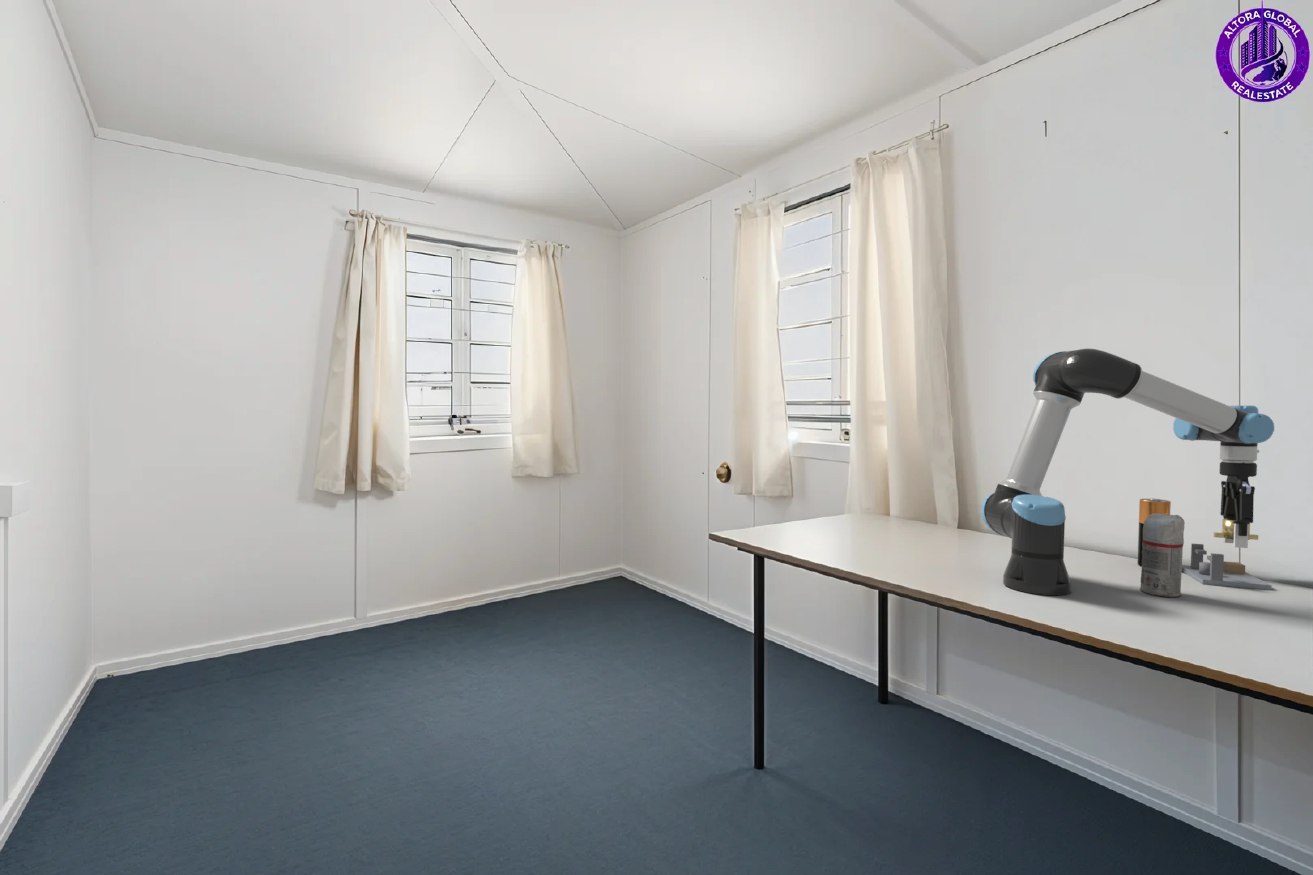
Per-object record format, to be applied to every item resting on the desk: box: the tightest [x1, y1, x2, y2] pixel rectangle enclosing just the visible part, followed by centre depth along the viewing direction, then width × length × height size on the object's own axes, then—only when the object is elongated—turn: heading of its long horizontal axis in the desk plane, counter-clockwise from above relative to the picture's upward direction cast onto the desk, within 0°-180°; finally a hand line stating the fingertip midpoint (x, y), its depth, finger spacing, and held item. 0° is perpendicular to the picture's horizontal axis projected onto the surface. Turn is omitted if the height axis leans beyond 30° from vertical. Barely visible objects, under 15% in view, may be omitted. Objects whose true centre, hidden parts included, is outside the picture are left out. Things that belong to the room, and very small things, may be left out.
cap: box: [1213, 518, 1259, 541], centre depth 173 cm, size 9×6×5 cm, turn 67°
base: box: [1181, 543, 1272, 591], centre depth 171 cm, size 14×17×8 cm
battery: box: [1137, 498, 1172, 567], centre depth 184 cm, size 7×7×20 cm
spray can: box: [1139, 513, 1185, 598], centre depth 158 cm, size 8×8×20 cm
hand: (1235, 544), depth 174 cm, fingers closed on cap, 5 cm apart
